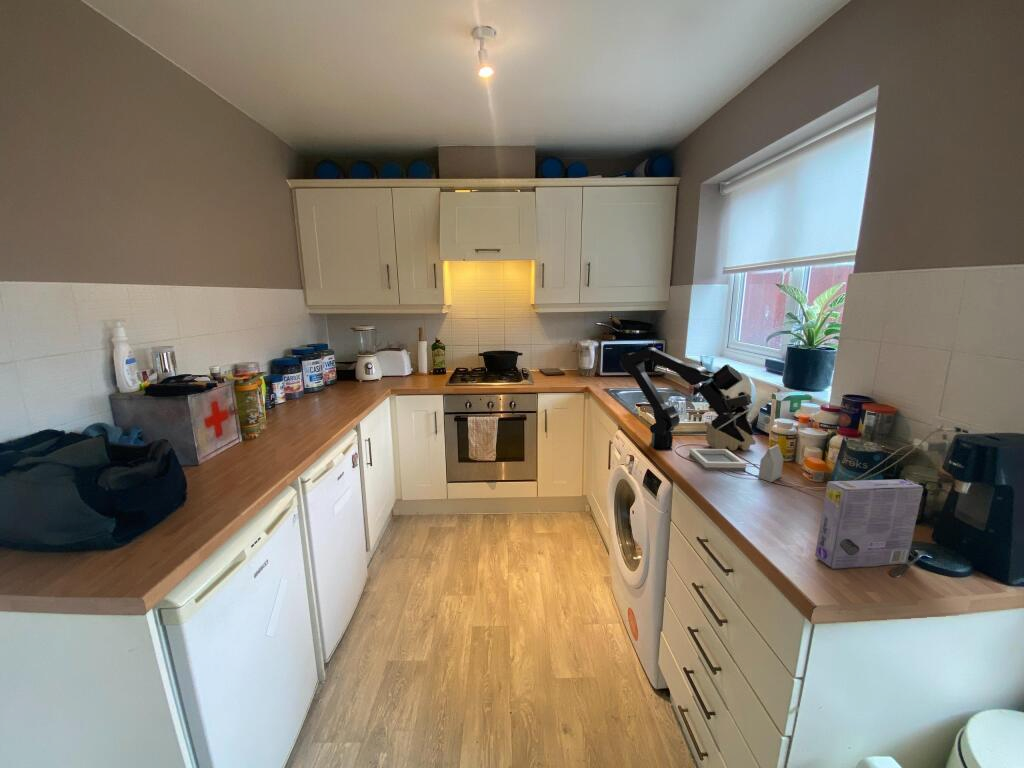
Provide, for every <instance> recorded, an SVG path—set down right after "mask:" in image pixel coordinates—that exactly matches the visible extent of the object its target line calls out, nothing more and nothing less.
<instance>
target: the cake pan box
mask: <svg viewBox="0 0 1024 768" xmlns="http://www.w3.org/2000/svg"><path fill="white" fill-rule="evenodd" d="M923 493H924V486H923V485H920V484H918V483H914V482H911V481H909V480H905V479H870V480H869V479H863V480H861V479H860V480H837V481H836V480H833V481H830V480H829V481H827V483H826V489H825V494H824V501H823V506H822V507H823V508H822V513H821V519H820V523H819V530H818V535H817V536H818V537H817V543H816V548H815V553H814V556H815V557H816V558H817V559H818V560H819V561H821V562H823V564H825V565H826V566H827V567H829V568H830V569H831V570H837V569H846V568H847V569H849V568H860V569H861V568H874V567H876V568H877V567H880V566H889V565H890V566H893V565H907V564H908V559H909V556H910V552H911V551H910V550H911V547H912V543H913V539H914V534H915V533H914V532H915V527H916V522H917V519H918V518H917V517H918V514H919V510H920V505H921V500H922V496H923ZM906 563H907V564H906Z"/></svg>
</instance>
